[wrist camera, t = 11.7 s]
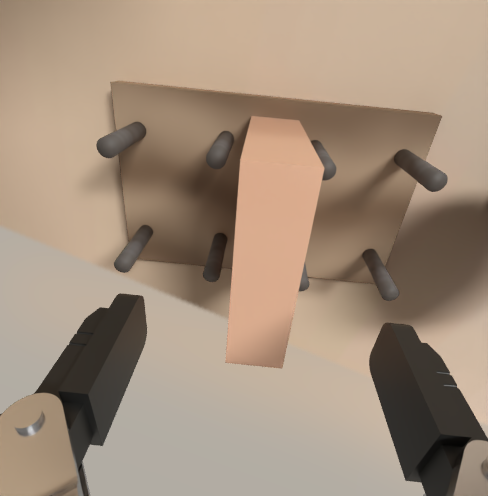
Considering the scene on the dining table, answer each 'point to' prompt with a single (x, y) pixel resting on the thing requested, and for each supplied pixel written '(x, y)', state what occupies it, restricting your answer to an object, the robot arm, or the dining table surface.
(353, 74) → the dining table surface
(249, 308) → the peach chamfered block
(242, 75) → the dining table surface
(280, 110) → the dish rack
